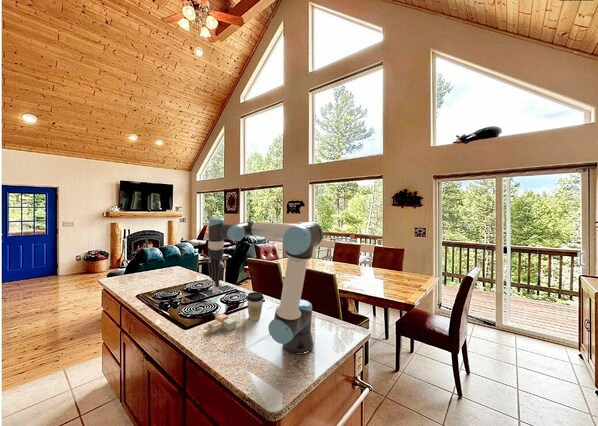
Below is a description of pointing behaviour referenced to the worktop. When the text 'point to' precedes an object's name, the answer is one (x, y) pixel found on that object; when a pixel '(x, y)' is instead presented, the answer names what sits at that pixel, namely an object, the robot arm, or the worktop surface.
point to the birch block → (215, 326)
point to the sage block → (229, 324)
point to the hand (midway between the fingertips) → (215, 292)
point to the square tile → (219, 331)
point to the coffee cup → (255, 305)
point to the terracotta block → (221, 318)
